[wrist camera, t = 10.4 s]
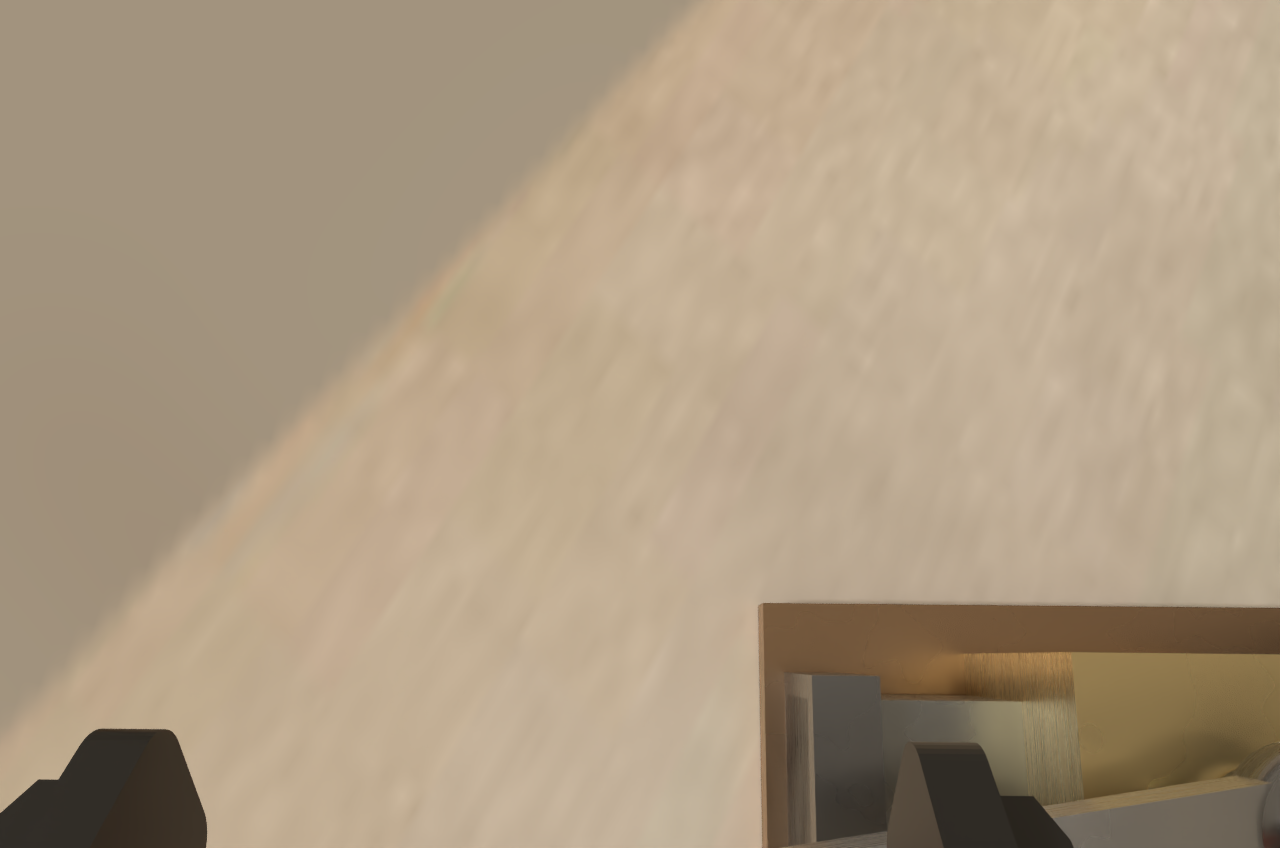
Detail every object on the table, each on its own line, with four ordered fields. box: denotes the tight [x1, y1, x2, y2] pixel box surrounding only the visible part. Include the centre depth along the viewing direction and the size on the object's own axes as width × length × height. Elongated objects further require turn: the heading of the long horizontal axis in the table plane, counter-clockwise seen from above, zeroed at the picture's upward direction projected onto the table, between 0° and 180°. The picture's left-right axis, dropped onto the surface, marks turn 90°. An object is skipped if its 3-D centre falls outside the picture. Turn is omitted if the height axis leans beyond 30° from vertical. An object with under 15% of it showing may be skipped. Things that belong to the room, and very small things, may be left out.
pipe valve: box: [758, 603, 1280, 848], centre depth 21 cm, size 16×8×9 cm, turn 89°
